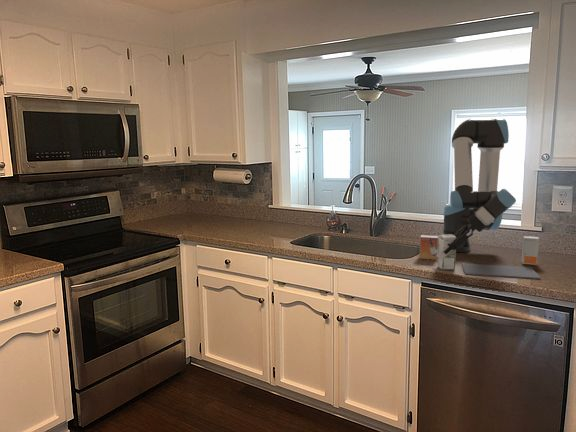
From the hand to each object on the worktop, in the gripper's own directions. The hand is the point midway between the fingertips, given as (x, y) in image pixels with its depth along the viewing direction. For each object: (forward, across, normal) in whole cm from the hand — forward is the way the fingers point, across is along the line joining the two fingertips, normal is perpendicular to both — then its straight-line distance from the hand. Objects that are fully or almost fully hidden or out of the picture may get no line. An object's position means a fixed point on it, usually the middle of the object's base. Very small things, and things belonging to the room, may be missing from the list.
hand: (438, 255), depth 202 cm
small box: (+7, +17, -2) cm, 18 cm away
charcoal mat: (-13, 0, -21) cm, 25 cm away
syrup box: (+2, 0, -6) cm, 7 cm away
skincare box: (-24, +17, -32) cm, 43 cm away
